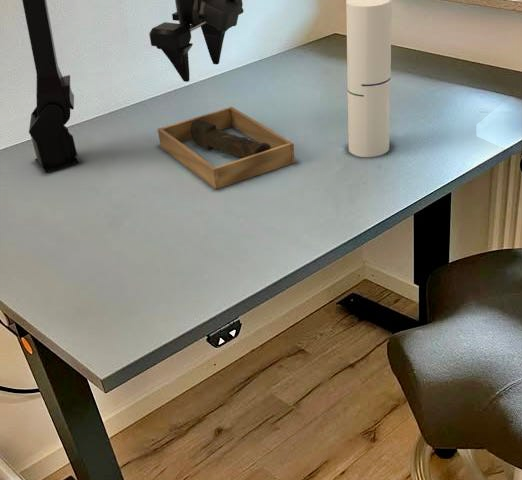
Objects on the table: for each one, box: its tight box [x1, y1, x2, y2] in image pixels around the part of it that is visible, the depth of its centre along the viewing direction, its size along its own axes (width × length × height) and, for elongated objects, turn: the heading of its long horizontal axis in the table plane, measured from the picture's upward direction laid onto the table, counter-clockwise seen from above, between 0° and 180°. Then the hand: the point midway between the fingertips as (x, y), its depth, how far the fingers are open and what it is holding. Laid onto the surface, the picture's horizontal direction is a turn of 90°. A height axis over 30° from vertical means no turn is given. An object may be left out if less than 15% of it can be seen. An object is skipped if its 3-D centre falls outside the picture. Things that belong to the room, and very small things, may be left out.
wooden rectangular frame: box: [157, 106, 296, 190], centre depth 143 cm, size 16×22×4 cm
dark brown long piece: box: [190, 120, 270, 159], centre depth 143 cm, size 19×4×5 cm, turn 43°
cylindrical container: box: [345, 0, 393, 158], centre depth 133 cm, size 7×7×25 cm
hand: (201, 72), depth 142 cm, fingers open, 9 cm apart
